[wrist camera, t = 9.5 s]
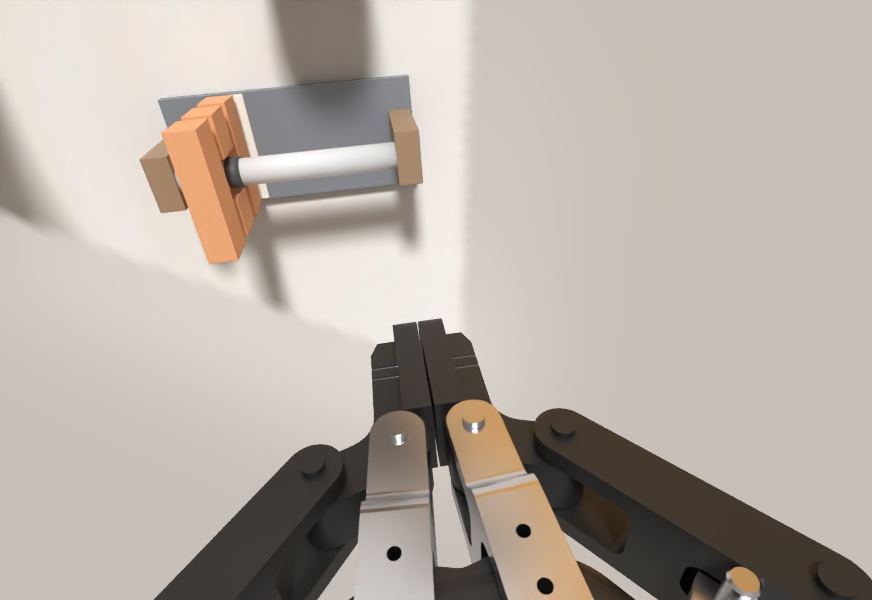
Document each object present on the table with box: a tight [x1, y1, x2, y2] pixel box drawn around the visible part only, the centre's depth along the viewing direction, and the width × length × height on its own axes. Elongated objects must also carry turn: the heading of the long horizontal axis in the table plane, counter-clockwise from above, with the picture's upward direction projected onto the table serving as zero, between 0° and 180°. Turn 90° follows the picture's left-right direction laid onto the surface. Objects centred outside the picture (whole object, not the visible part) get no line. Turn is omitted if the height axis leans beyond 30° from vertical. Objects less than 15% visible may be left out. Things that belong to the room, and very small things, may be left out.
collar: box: [161, 95, 262, 264], centre depth 37 cm, size 2×9×11 cm, turn 5°
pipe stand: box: [140, 75, 423, 213], centre depth 40 cm, size 20×9×8 cm, turn 94°
